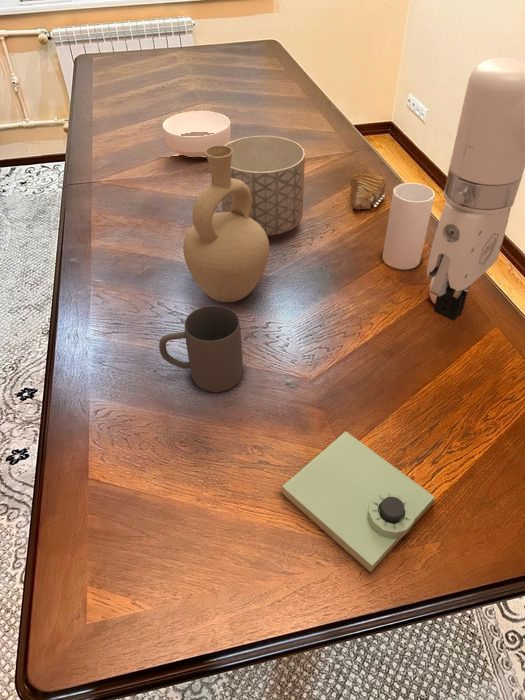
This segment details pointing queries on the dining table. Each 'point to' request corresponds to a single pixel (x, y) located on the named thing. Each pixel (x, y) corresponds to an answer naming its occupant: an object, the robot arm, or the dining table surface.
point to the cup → (407, 225)
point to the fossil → (367, 190)
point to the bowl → (196, 123)
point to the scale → (356, 498)
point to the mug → (210, 348)
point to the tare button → (392, 509)
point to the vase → (225, 236)
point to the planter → (270, 180)
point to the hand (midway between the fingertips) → (447, 313)
